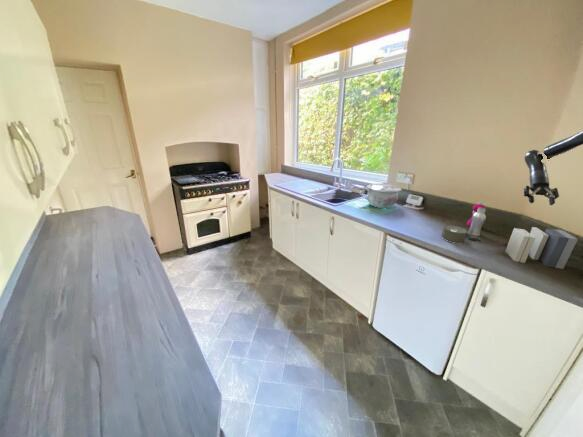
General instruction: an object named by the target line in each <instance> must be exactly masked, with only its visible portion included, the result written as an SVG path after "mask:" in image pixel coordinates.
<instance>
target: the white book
mask: <svg viewBox="0 0 583 437" xmlns="http://www.w3.org/2000/svg"><path fill="white" fill-rule="evenodd" d="M544 232H545V231H543V230H541V228H538V227H535V226H532V227H531V228H530V231H529V233H530V234H531V235H533V236H534V237H535V240H534V243H533V245H532V247H531V250H530V252H529V254H528V257H529V258H531V259H532V260H533V261H534V260H535V261H539V260H538V259H539V257H540V255H541V252H542V250H543V248H544V246H545V243H546V241H547V239H548V237H549V235H547V234H546V233H544Z"/></svg>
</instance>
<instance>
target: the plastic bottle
mask: <svg viewBox="0 0 583 437" xmlns="http://www.w3.org/2000/svg"><path fill="white" fill-rule="evenodd" d="M486 210H487V209H486V207H485V208H478V210H477V212H476V213H475V214H473V213H472V215H473V216H471V217H472V222H471V226H469V228H468V230H467V234H469V235H471V236H472V237H471V236H466V239H467V240H469V241H473V242H477V241H479V240H480V239H479V238H477V237H478V236H479V237H480V236H481V231H482V227H483V225H484V224H485V222H486V219H487V215H486V214H485V213H486ZM473 236H476V237H473Z"/></svg>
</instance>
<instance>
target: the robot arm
mask: <svg viewBox="0 0 583 437" xmlns="http://www.w3.org/2000/svg"><path fill="white" fill-rule="evenodd" d="M582 145H583V130H581V131H579V132H577V133H575V134H573V135H571V136H569V137H566V138H564V139H563V138H562V139H561V140H559V141H556V142H554V143H552V144H549V145H547V146H545V147H544V149H543V153H544V154H545V155H546V156H547V159H550V158H552V157H553V158H554V156H555V157H558V156H560V155H562V154H565V153H567V151H568V152H570V151H572V150H573V149H576V148H577V147H580V146H582ZM571 149H572V150H571ZM531 150H532V151H531ZM531 150H528V153H527V152H526V153H527V154H526V153H525V155H524V162H525V164H526V166H527V169H528V172H529V185H530V186H529V185H526V186H525V187H523V196H524V197H527V198H528V202H529V203H530V204H534V203H535V196H534V195H536V196H544V197H545V198H548V203H549V205H550V206H553V205H554V204H555V203H556V200H557V199H558V198H559V197H560V194H559V190H558V188H557V187H554V188H551V187H550V179H549V174H548V170H547V165H546V164H545V163H542V162H541V160H542V159H543V156H542V154H540V152H541V151H540V150H538V149H531ZM569 150H570V151H569ZM539 151H540V152H539ZM559 154H560V155H559ZM553 158H552V159H553ZM550 160H551V159H550ZM530 191H531V193H530Z"/></svg>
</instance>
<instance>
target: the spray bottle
mask: <svg viewBox="0 0 583 437" xmlns="http://www.w3.org/2000/svg"><path fill="white" fill-rule="evenodd" d="M478 208H485V209H486V207H485V205H483V202H482V201H479V202H478V203H476V204H474V205H473V206H472V216H473V214H475V213H476V212H477V210H478ZM472 216H471V217H470V218H469V219H468V220H467V222H466V226H467V227H470V226H471V222H472Z"/></svg>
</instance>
